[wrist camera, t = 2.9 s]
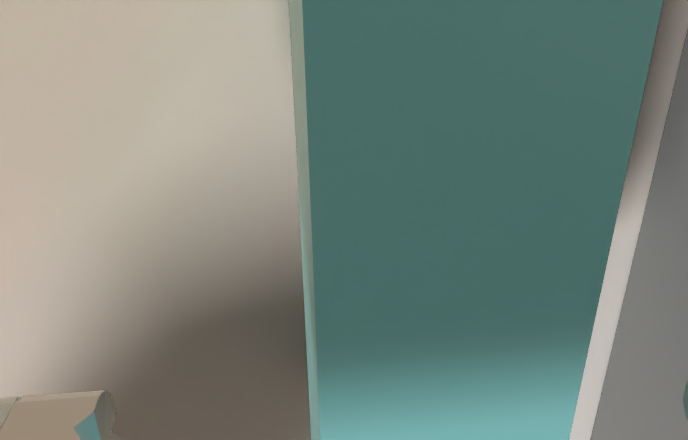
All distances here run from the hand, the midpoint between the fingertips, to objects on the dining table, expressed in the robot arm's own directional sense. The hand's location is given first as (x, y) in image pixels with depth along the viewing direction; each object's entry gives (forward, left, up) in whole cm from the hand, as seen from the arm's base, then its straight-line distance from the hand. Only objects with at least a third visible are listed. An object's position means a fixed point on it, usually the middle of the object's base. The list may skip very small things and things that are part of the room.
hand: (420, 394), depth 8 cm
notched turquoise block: (0, 0, -6) cm, 6 cm away
